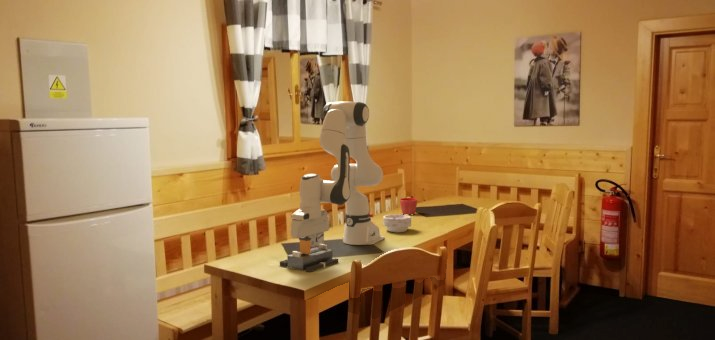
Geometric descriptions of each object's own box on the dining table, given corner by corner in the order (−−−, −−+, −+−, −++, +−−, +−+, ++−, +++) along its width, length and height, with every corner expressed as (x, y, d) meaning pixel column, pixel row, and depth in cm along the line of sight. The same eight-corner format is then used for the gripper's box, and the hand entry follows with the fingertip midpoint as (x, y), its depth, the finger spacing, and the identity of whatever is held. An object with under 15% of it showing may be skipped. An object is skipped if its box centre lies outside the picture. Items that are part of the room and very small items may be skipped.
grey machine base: (317, 258, 241) (316, 242, 240) (332, 261, 235) (332, 245, 235) (287, 267, 227) (287, 250, 226) (303, 271, 221) (302, 254, 221)
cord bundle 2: (334, 261, 234) (334, 257, 234) (338, 262, 233) (338, 258, 233) (305, 271, 221) (305, 267, 220) (309, 272, 219) (309, 268, 219)
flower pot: (412, 216, 334) (412, 200, 333) (396, 215, 340) (396, 199, 339) (420, 213, 343) (420, 198, 342) (404, 212, 349) (404, 197, 348)
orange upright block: (302, 251, 231) (302, 236, 230) (311, 253, 228) (310, 238, 227) (299, 252, 229) (298, 237, 228) (307, 254, 226) (307, 239, 225)
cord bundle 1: (309, 256, 244) (309, 252, 244) (315, 257, 242) (315, 253, 241) (279, 265, 230) (279, 261, 230) (285, 266, 228) (285, 262, 228)
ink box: (314, 252, 250) (314, 227, 249) (305, 251, 253) (305, 226, 252) (324, 248, 258) (324, 223, 257) (315, 247, 260) (315, 223, 259)
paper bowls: (404, 227, 305) (404, 212, 304) (415, 232, 290) (415, 217, 289) (379, 229, 300) (379, 214, 299) (389, 234, 286) (389, 219, 285)
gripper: (321, 208, 239) (322, 239, 241) (287, 215, 223) (288, 248, 225) (332, 209, 235) (333, 241, 237) (298, 217, 220) (299, 250, 221)
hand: (311, 244), depth 231 cm, fingers closed
